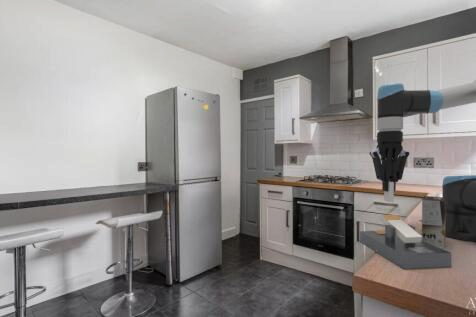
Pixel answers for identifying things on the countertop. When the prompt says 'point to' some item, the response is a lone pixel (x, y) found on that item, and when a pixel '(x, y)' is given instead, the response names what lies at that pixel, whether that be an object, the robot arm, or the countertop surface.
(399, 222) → the rocker
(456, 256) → the countertop surface
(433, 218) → the coffee box
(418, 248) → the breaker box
